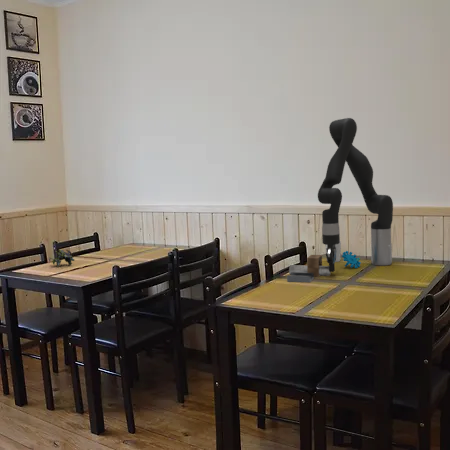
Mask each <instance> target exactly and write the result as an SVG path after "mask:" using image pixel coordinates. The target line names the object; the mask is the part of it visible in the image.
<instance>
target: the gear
mask: <svg viewBox="0 0 450 450" xmlns="http://www.w3.org/2000/svg"><path fill="white" fill-rule="evenodd" d="M353 254H354V255H353ZM341 258H343V259H342V260H343V262H345V265H344V267H345V268H346V267H348V266H349V265H350V266H349V267H350V268H352V269H353V268H354V269H358V268H360V267H361V263H362V262H361V261H360V260H361V257H357V255H356V254H355V253H353V252H352V251H348V250H346V251H343V252H342V255H341Z"/></svg>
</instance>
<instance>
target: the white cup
mask: <svg viewBox="0 0 450 450" xmlns="http://www.w3.org/2000/svg"><path fill="white" fill-rule="evenodd" d="M324 245H325V244H324ZM324 247H325V249H326V248H327V245H325V246H324ZM335 247H336V248H337V252H336V261H335V263H336V262H340V261H341V256H342V255H341V252H342V251H341V250H342V241H341V240H340V243H339V244H336V245H335ZM326 253H327V252H326V251H325V254H326Z"/></svg>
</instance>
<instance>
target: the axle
mask: <svg viewBox="0 0 450 450" xmlns="http://www.w3.org/2000/svg"><path fill="white" fill-rule="evenodd" d="M291 272H307V264H306V265H304V264H303V265H302V264H301V265H299V264H298V265H297V264H290V265H289V269H288V273H289V274H288V275H291ZM331 273H332V272H329V265H322V266H319V277H320V276H321V277H327V276H328V277H329V276H331Z"/></svg>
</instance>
